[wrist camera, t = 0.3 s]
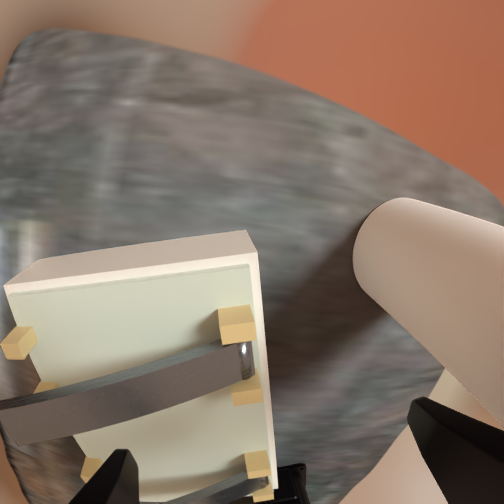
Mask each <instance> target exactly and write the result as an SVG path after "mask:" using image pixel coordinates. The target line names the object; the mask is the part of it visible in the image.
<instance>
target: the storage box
mask: <svg viewBox="0 0 504 504" xmlns="http://www.w3.org/2000/svg"><path fill="white" fill-rule="evenodd" d="M3 286H4V289H5V292H6V295H7V299H8V302H9V305H10V308H11V311H12V313H13V316H14V319H15V322H16V324H17V326H16V327H15V328H14V329H13V330H12V331H11V332H10V333H9V334H8V335H7V336H6V338H5V339H4V340H3V341H2V342H1V343H0V345H1V347H2V350H3V352H4V354H5V356H6V358H7V359H23V360H24V359H25V358H26V356H27V355H28V353H29V355H30V358H31V360H32V362H33V364H34V366H35V368H36V370H37V372H38V375H39V377H40V379H41V381H40V383H39V384H38V386H37V388H36V390H35V391H34V393H38V392H43V391H47V390H51V389H55V388H59V387H64V386H68V385H72V384H75V383H79V382H83V381H87V380H91V379H94V378H98V377H102V376H105V375H109V374H112V373H116V372H119V371H123V370H126V369H130V368H133V367H137V366H140V365H143V364H146V363H150V362H153V361H156V360H159V359H163V358H166V357H169V356H172V355H175V354H178V353H181V352H184V351H187V350H190V349H193V348H196V347H199V346H202V345H205V344H208V343H211V342H214V341H217V340H220V339H222V345H225V344H232V343H239V342H246V341H252V349H253V358H254V366H255V375H254V376H252V377H251V378H249V379H247V380H242V381H239V382H237V383H234V384H232V385H229V386H227V387H224V388H222V389H219V390H217V391H214V392H211V393H209V394H206V395H203V396H201V397H198V398H195V399H193V400H190V401H187V402H184V403H181V404H178V405H176V406H173V407H170V408H167V409H164V410H161V411H158V412H155V413H151V414H148V415H145V416H142V417H139V418H135V419H132V420H129V421H125V422H122V423H118V424H115V425H111V426H107V427H104V428H100V429H96V430H92V431H88V432H84V433H80V434H76V435H73V437H74V438H75V440H76V441H77V443H78V444H79V446H80V447H81V449H82V450H83V452H84V453H85V455H86V458H85V461H84V465H83V468H82V472H81V476H80V477H81V478H82V479H83V480H84V481H85V483H87V482H88V480H89V479H90V478H91V477H92V476H93V475H94V474H95V472H96V471H97V470H98V469H99V468H100V467H101V465H102V464H103V463H104V462H105V461H106V459H107V458H108V457H109V456H110V455H111V454H112V452H113V451H114V450H115V449H128V450H130V452H131V454H132V455H133V457H134V459H135V461H136V463H137V465H138V469H139V501H149V502H166V501H169V500H172V499H175V498H178V497H181V496H184V495H187V494H190V493H192V492H195V491H198V490H200V489H203V488H206V487H208V486H211V485H213V484H216V483H218V482H221V481H223V480H225V479H228V478H230V477H232V476H235V475H237V474H239V473H241V472H244V471H246V470H247V474H248V478H249V479H252V478H259V477H265V476H268V480H269V485H267V486H266V487H265V488H264V489H259V490H257V491H255V492H253V493H251V494H249V495H247V496H252V495H253V500H254V502H260V501H266V500H272V499H274V494H273V492H274V490H273V489H278V478H277V466H276V454H275V442H274V431H273V419H272V408H271V396H270V385H269V374H268V362H267V351H266V340H265V329H264V318H263V307H262V296H261V286H260V275H259V264H258V253H257V250H256V249H255V247H254V245H253V243H252V241H251V239H250V237H249V235H248V233H247V231H246V230H240V231H232V232H224V233H216V234H208V235H201V236H193V237H186V238H178V239H171V240H164V241H157V242H149V243H142V244H135V245H128V246H122V247H115V248H108V249H101V250H95V251H88V252H82V253H75V254H69V255H62V256H56V257H50V258H44V259H38V260H37V261H35V262H34V263H33V264H31V265H30V266H29V267H27V268H26V269H24V270H23V271H22V272H20V273H19V274H18V275H16V276H15V277H14V278H12V279H11V280H10V281H8V282H7V283H6V284H4V285H3ZM34 393H33V394H34ZM244 497H245V496H244Z"/></svg>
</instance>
